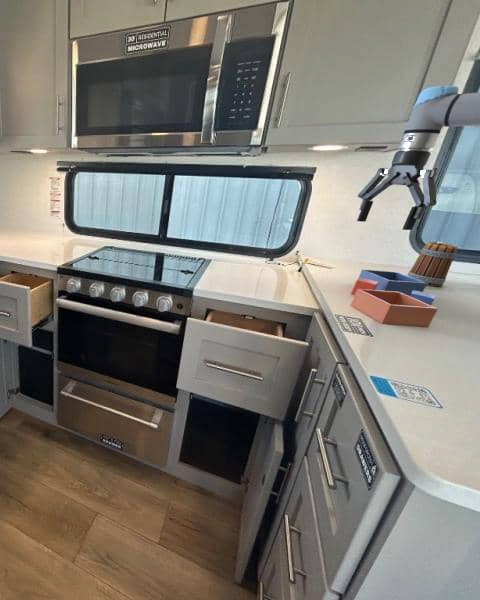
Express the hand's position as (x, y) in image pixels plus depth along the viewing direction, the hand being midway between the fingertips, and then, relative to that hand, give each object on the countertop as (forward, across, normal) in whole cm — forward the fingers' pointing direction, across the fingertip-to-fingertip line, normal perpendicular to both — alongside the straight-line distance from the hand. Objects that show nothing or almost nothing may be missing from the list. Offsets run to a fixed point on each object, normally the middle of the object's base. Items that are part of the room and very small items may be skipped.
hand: (382, 225), depth 102 cm
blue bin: (+23, 0, +15) cm, 27 cm away
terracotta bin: (+23, +17, -9) cm, 30 cm away
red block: (+23, +2, +1) cm, 23 cm away
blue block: (+23, +14, +6) cm, 28 cm away
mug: (+23, -9, +46) cm, 52 cm away
